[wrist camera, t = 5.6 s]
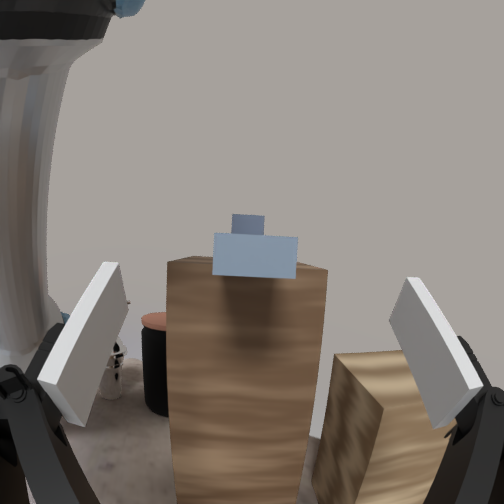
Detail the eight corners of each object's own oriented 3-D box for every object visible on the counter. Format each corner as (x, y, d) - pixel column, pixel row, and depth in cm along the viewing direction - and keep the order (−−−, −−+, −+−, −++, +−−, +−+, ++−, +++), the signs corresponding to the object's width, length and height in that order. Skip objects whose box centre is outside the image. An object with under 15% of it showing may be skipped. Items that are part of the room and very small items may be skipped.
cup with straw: (98, 383, 58) (92, 295, 58) (136, 388, 59) (133, 298, 59) (85, 400, 49) (76, 302, 49) (128, 407, 51) (122, 306, 50)
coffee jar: (188, 391, 62) (188, 311, 61) (208, 414, 52) (209, 324, 52) (140, 396, 56) (136, 312, 56) (153, 422, 47) (148, 327, 47)
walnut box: (290, 532, 24) (331, 270, 23) (179, 530, 23) (164, 261, 23) (277, 464, 38) (296, 261, 38) (192, 461, 37) (191, 255, 37)
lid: (295, 278, 15) (299, 188, 15) (212, 274, 15) (217, 183, 15) (262, 260, 35) (264, 220, 35) (226, 258, 35) (228, 218, 35)
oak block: (407, 532, 20) (468, 391, 20) (334, 550, 20) (384, 408, 20) (371, 473, 34) (401, 350, 34) (311, 481, 33) (334, 353, 33)
